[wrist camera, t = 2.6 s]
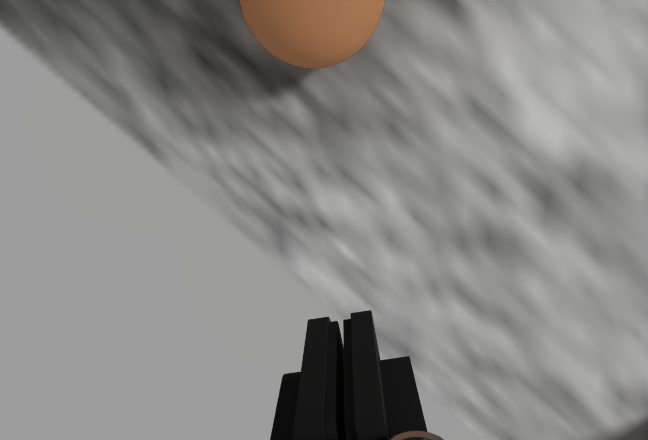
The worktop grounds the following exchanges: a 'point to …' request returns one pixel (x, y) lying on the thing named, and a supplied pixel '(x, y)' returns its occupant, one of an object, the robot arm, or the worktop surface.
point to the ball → (312, 28)
